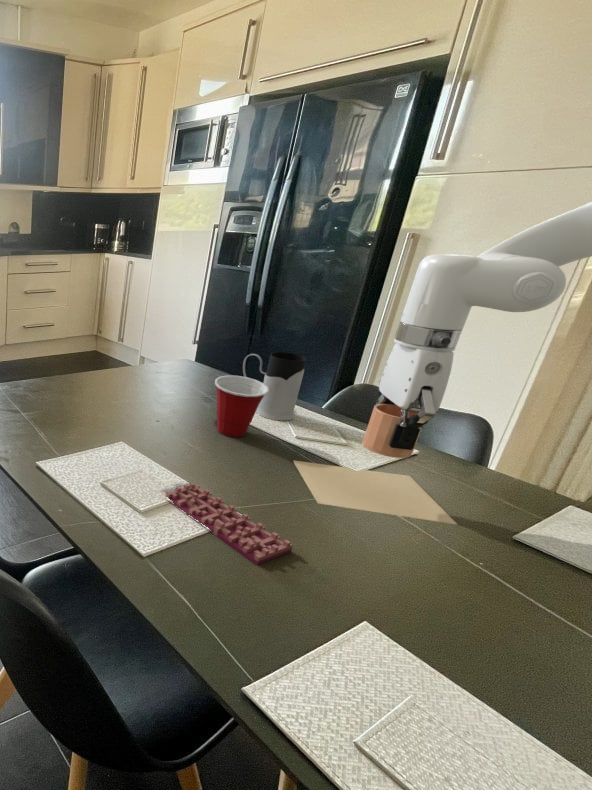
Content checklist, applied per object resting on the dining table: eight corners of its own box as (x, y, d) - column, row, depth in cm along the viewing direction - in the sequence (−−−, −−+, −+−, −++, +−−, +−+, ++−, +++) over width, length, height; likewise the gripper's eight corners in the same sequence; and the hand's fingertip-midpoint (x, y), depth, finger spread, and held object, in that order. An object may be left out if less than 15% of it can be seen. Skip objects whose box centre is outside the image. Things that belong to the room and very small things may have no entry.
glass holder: (285, 423, 116) (300, 363, 110) (227, 405, 126) (238, 350, 120) (300, 415, 121) (315, 357, 115) (243, 398, 131) (254, 344, 126)
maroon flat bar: (193, 488, 88) (195, 479, 87) (290, 552, 72) (293, 541, 71) (162, 497, 85) (164, 487, 85) (257, 565, 69) (259, 554, 69)
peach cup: (399, 443, 86) (413, 406, 83) (419, 460, 80) (434, 422, 77) (355, 437, 87) (367, 401, 85) (371, 454, 81) (384, 416, 79)
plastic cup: (209, 439, 107) (219, 389, 103) (202, 420, 117) (211, 373, 112) (263, 445, 105) (275, 394, 100) (250, 425, 115) (261, 377, 110)
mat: (408, 476, 93) (409, 475, 93) (471, 539, 75) (472, 538, 75) (292, 461, 98) (293, 460, 98) (325, 516, 81) (326, 515, 80)
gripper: (490, 353, 67) (444, 465, 74) (426, 326, 83) (392, 421, 90) (426, 348, 69) (386, 458, 76) (375, 323, 85) (345, 416, 91)
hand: (390, 437), depth 83 cm, fingers closed on peach cup, 6 cm apart
